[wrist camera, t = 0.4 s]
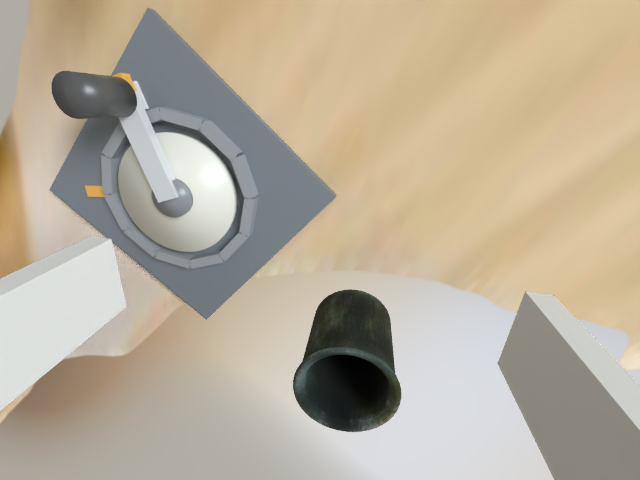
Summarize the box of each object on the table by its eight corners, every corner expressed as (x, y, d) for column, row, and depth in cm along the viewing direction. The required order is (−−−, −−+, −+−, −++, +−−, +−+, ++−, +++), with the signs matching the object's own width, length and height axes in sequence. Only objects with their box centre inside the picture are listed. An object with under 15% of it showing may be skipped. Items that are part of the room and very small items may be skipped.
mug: (401, 291, 40) (413, 362, 29) (380, 376, 45) (382, 462, 34) (316, 277, 41) (297, 340, 30) (306, 362, 46) (286, 440, 35)
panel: (56, 187, 41) (38, 192, 39) (154, 10, 31) (138, 3, 29) (209, 315, 46) (201, 325, 43) (336, 194, 36) (334, 200, 34)
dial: (254, 235, 38) (225, 267, 30) (159, 256, 41) (111, 290, 34) (187, 56, 31) (128, 40, 24) (80, 99, 35) (-2, 96, 27)
